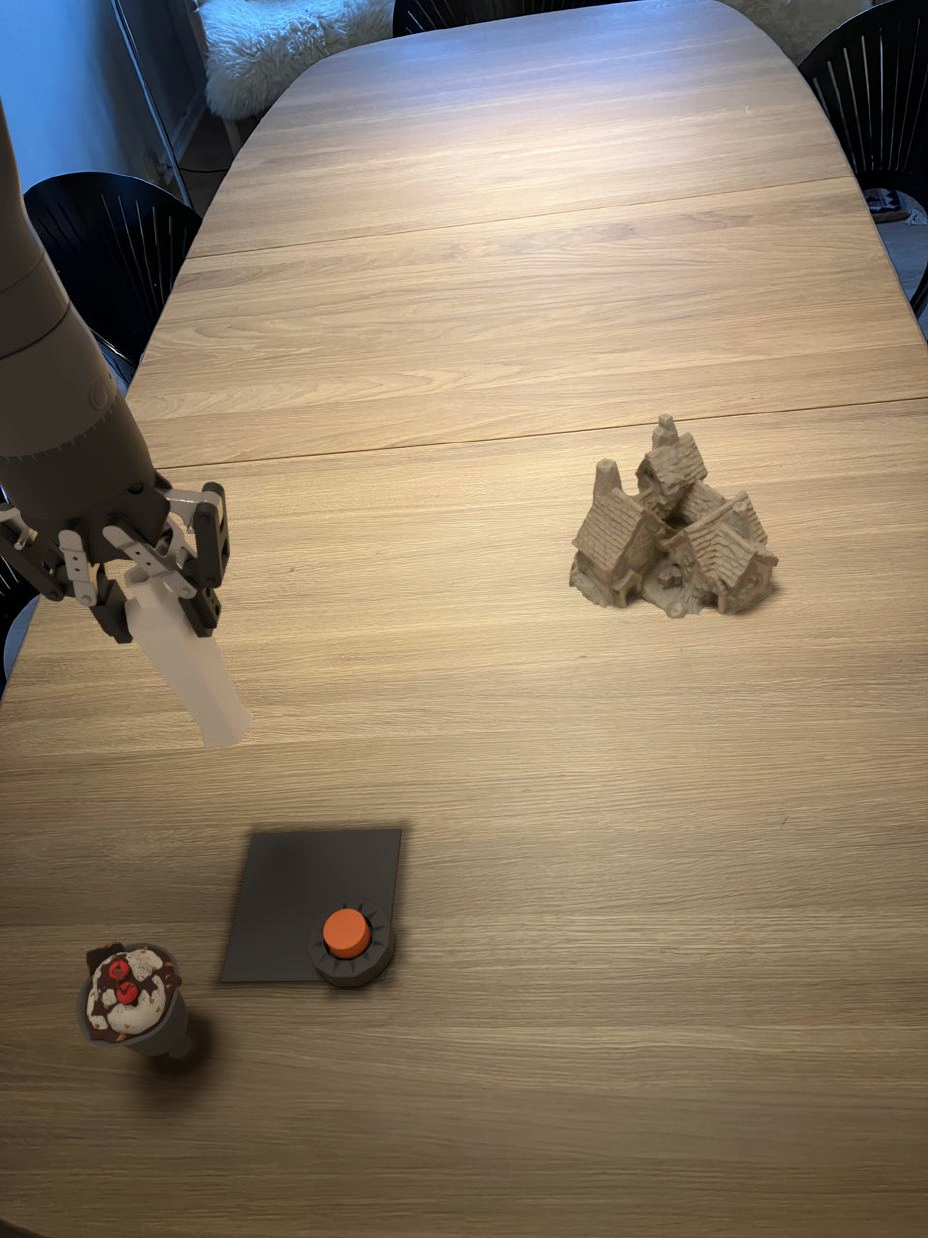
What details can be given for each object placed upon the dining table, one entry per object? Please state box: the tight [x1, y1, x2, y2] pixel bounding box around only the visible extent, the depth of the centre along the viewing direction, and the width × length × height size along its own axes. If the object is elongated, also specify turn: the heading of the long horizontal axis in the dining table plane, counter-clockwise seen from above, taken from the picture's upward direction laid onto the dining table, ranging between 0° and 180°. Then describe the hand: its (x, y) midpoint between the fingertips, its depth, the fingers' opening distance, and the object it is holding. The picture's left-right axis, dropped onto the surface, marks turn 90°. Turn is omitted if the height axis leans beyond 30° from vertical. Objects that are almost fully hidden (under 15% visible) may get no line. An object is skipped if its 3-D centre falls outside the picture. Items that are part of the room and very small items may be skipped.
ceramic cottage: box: [568, 413, 780, 620], centre depth 89 cm, size 16×16×15 cm
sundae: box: [75, 940, 192, 1059], centre depth 66 cm, size 7×7×15 cm
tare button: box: [323, 909, 370, 959], centre depth 72 cm, size 3×3×2 cm
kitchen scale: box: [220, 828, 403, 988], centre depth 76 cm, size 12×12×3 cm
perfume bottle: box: [123, 564, 254, 749], centre depth 66 cm, size 5×4×15 cm
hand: (168, 629), depth 64 cm, fingers closed on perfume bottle, 4 cm apart
